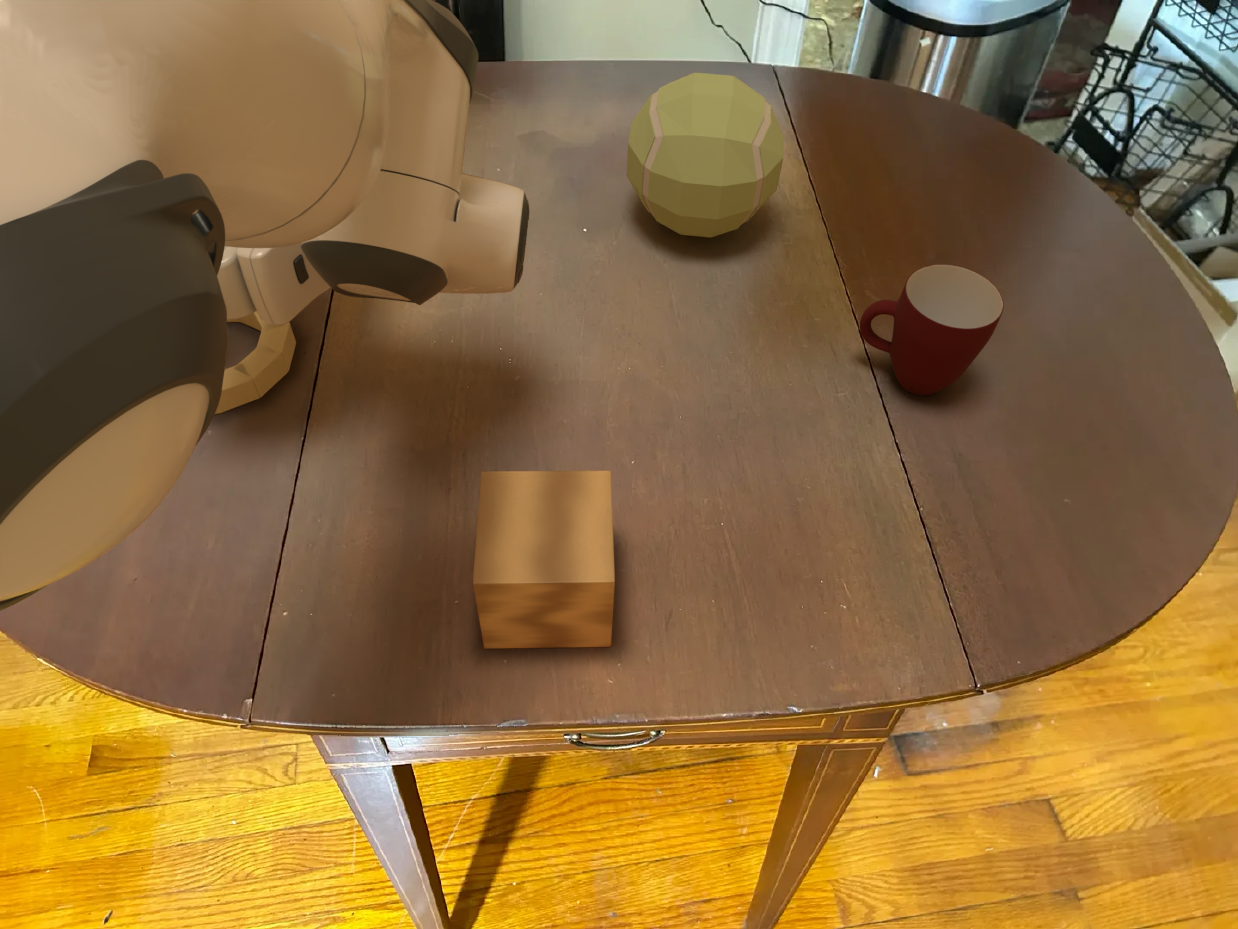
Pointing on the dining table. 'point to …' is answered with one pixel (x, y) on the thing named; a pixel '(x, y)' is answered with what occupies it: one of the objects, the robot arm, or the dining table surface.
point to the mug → (936, 325)
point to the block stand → (545, 559)
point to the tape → (258, 364)
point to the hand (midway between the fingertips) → (135, 195)
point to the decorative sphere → (705, 154)
